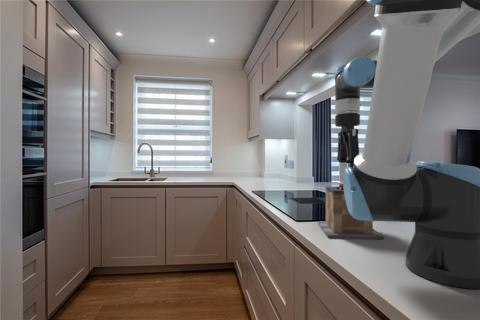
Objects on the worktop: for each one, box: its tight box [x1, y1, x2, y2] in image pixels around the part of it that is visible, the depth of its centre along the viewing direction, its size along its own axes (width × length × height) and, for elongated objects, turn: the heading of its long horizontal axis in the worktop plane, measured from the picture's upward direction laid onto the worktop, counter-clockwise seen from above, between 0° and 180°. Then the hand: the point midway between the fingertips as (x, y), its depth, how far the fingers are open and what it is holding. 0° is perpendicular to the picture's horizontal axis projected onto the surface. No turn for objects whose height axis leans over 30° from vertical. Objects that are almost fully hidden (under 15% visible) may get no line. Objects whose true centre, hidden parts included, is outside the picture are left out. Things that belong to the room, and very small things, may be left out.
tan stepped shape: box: [317, 186, 384, 240], centre depth 88 cm, size 16×16×14 cm
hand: (347, 182), depth 88 cm, fingers open, 9 cm apart
